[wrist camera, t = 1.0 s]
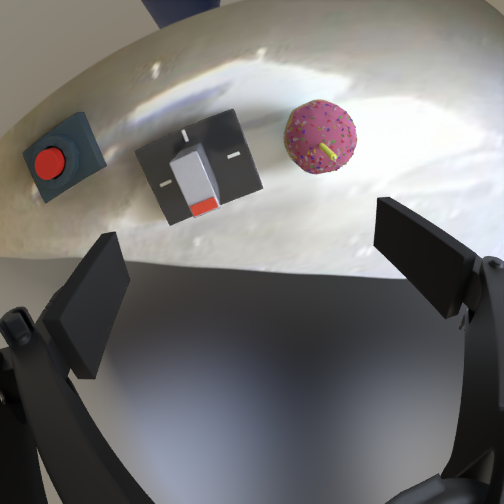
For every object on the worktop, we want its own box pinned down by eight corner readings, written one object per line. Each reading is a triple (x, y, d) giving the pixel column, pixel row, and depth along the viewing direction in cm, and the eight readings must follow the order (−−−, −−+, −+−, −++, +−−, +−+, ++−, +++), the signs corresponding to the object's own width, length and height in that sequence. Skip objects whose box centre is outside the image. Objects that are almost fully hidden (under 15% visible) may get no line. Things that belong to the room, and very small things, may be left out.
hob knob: (179, 151, 30) (168, 163, 23) (200, 142, 30) (196, 151, 23) (197, 194, 33) (193, 219, 26) (218, 186, 33) (220, 208, 26)
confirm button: (57, 142, 27) (50, 144, 25) (69, 167, 28) (62, 171, 27) (37, 157, 27) (30, 159, 25) (48, 181, 29) (42, 185, 27)
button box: (84, 112, 29) (70, 112, 25) (107, 165, 32) (95, 172, 29) (30, 150, 29) (14, 155, 26) (52, 199, 33) (38, 208, 29)
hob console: (232, 108, 32) (233, 108, 29) (259, 182, 36) (263, 189, 34) (140, 148, 32) (133, 151, 29) (172, 217, 37) (169, 226, 34)
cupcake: (309, 179, 37) (347, 208, 26) (261, 135, 34) (284, 145, 23) (351, 133, 35) (404, 147, 24) (307, 87, 31) (349, 79, 21)
